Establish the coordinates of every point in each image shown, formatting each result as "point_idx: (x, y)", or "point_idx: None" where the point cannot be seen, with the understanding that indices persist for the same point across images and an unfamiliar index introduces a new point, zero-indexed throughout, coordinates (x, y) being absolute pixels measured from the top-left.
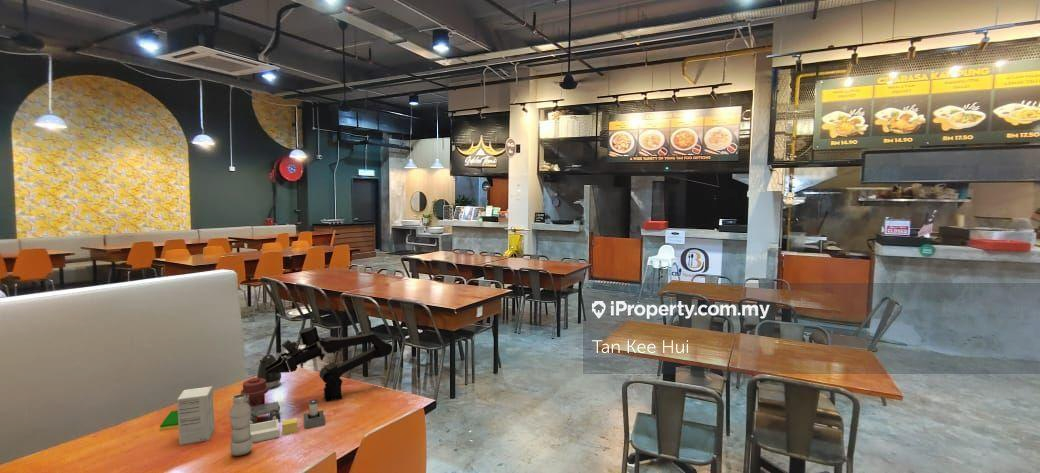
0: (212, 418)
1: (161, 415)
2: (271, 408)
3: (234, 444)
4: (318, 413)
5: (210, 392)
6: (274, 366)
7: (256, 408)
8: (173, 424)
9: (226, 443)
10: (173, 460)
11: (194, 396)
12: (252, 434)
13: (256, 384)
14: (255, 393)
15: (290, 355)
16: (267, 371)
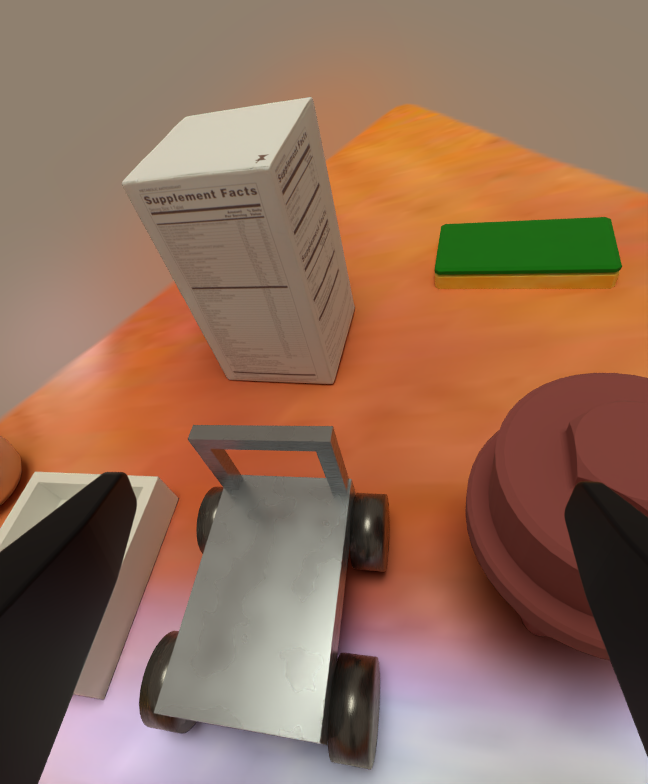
0: (278, 334)
1: (622, 212)
2: (195, 649)
3: None
4: None
5: (212, 192)
6: (5, 587)
7: (281, 537)
8: (437, 253)
9: (139, 436)
10: (156, 313)
11: (157, 148)
12: (10, 517)
13: (507, 483)
14: (467, 511)
15: None
16: (109, 478)
